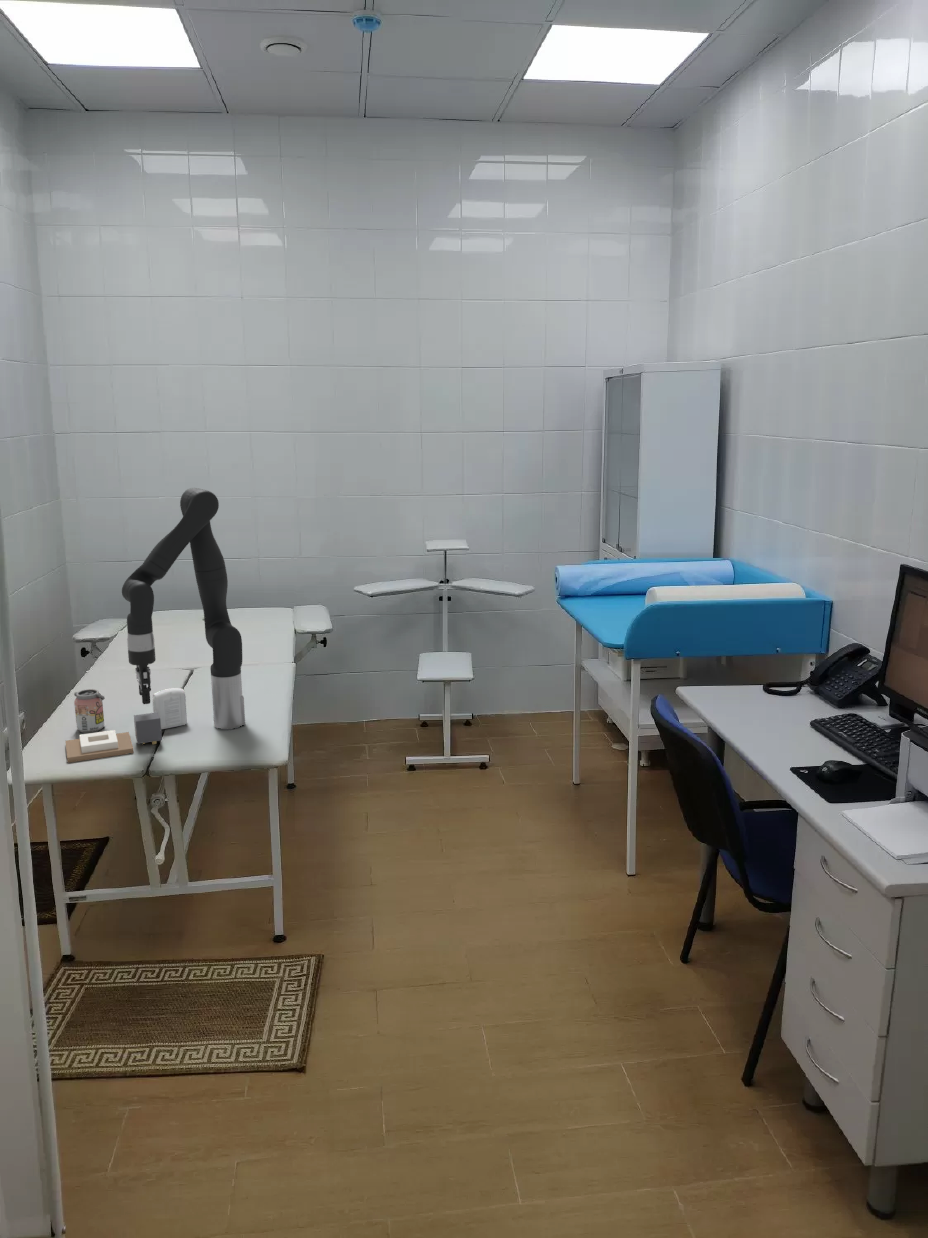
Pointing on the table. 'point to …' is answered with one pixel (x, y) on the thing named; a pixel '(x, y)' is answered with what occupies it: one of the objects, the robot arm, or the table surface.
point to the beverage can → (89, 710)
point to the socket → (98, 746)
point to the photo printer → (170, 707)
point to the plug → (147, 728)
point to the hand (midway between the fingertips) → (144, 699)
